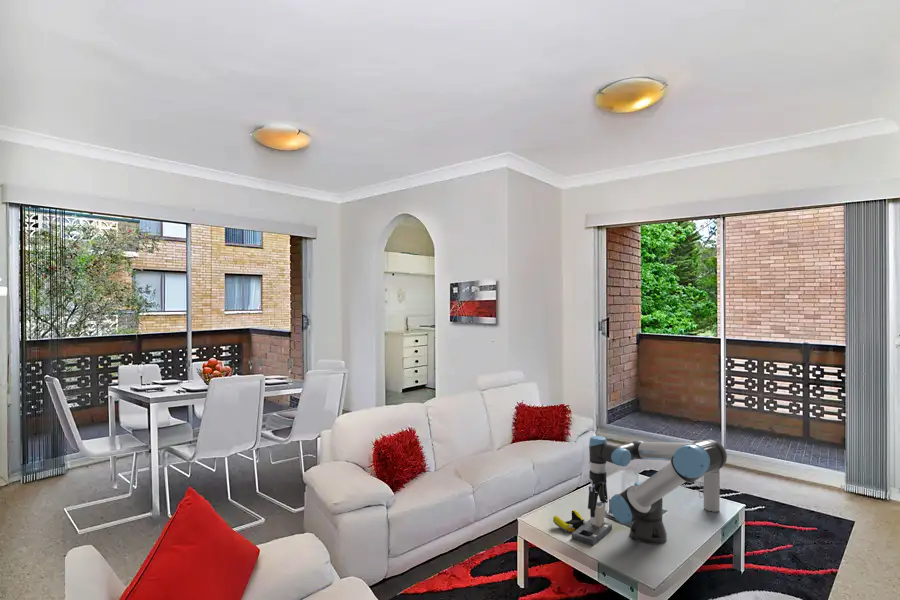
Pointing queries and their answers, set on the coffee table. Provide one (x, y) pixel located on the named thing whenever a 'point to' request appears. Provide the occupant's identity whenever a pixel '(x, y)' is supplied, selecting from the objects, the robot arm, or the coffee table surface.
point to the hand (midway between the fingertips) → (597, 519)
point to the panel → (591, 533)
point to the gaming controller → (570, 522)
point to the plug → (599, 515)
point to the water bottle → (711, 491)
